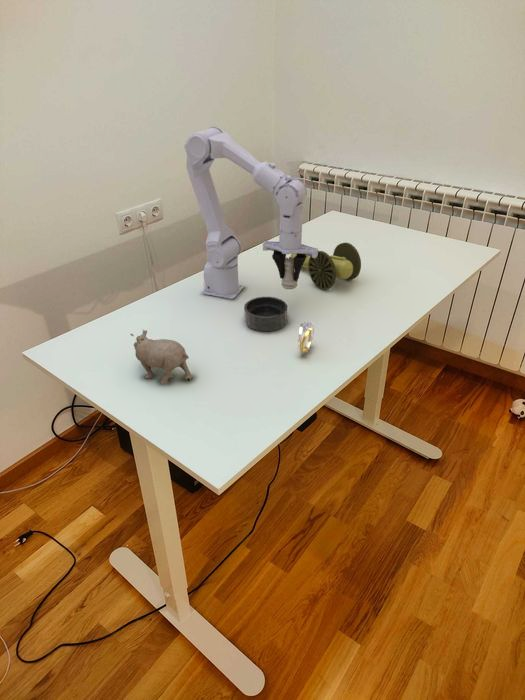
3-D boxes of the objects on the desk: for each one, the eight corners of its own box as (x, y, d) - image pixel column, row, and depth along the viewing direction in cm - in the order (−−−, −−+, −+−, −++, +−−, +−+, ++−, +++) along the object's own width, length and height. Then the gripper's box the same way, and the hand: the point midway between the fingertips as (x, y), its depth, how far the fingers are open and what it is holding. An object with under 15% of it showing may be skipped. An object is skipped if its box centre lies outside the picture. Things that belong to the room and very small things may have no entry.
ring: (304, 361, 117) (305, 332, 113) (292, 357, 119) (293, 328, 114) (317, 347, 122) (319, 318, 118) (306, 343, 124) (307, 315, 119)
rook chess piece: (296, 290, 134) (297, 263, 130) (279, 289, 135) (280, 261, 130) (298, 283, 138) (299, 256, 133) (282, 281, 138) (283, 254, 134)
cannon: (279, 268, 160) (280, 234, 153) (307, 258, 166) (309, 225, 159) (334, 297, 143) (337, 260, 137) (363, 285, 149) (367, 249, 143)
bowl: (238, 328, 130) (237, 313, 127) (254, 308, 138) (254, 293, 136) (278, 336, 126) (278, 320, 124) (292, 315, 135) (293, 300, 132)
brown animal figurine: (177, 390, 105) (145, 324, 103) (144, 400, 114) (115, 340, 113) (203, 375, 110) (173, 313, 108) (170, 386, 120) (143, 329, 118)
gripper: (258, 231, 126) (258, 280, 134) (313, 238, 122) (311, 288, 130) (268, 222, 132) (268, 269, 139) (321, 229, 127) (318, 277, 135)
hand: (289, 278), depth 135 cm, fingers closed on rook chess piece, 3 cm apart
